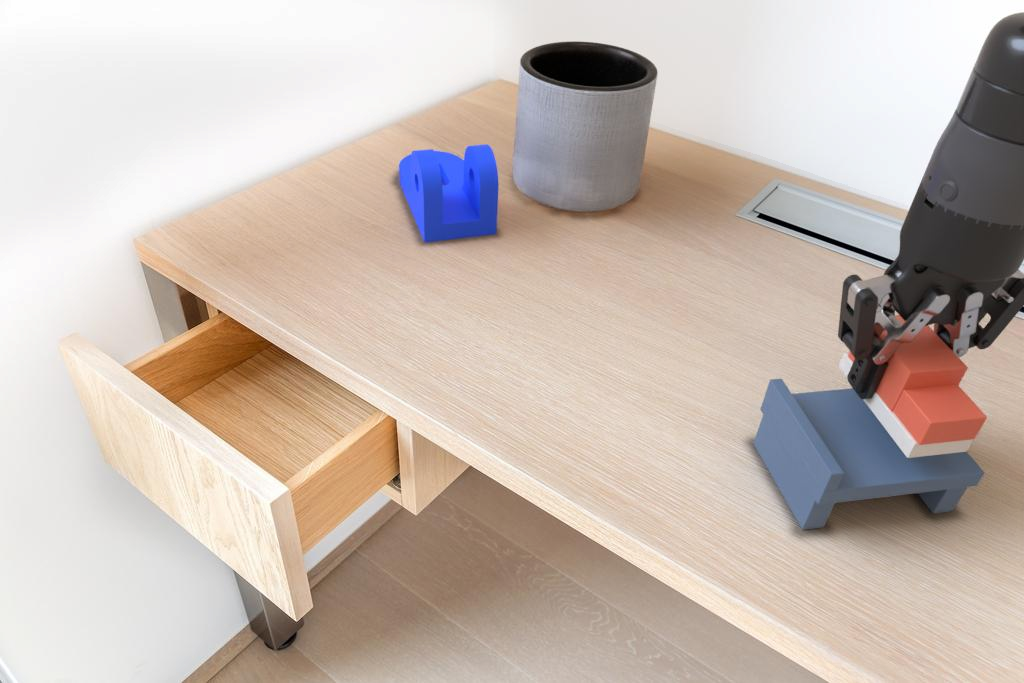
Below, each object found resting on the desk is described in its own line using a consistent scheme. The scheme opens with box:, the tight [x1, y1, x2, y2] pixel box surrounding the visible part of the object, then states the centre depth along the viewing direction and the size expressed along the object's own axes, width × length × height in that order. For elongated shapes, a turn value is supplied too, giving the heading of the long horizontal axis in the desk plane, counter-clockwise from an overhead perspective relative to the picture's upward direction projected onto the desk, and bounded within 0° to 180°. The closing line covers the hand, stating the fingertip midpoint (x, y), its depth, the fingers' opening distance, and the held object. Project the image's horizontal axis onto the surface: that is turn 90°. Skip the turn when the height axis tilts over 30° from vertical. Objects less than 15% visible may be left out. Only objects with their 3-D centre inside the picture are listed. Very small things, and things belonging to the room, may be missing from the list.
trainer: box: [838, 314, 988, 458], centre depth 59 cm, size 10×5×5 cm, turn 10°
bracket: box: [398, 144, 499, 243], centre depth 93 cm, size 18×8×9 cm, turn 17°
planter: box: [511, 40, 659, 214], centre depth 95 cm, size 16×16×16 cm
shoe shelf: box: [753, 378, 986, 531], centre depth 62 cm, size 13×10×7 cm
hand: (891, 387), depth 61 cm, fingers closed on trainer, 4 cm apart
